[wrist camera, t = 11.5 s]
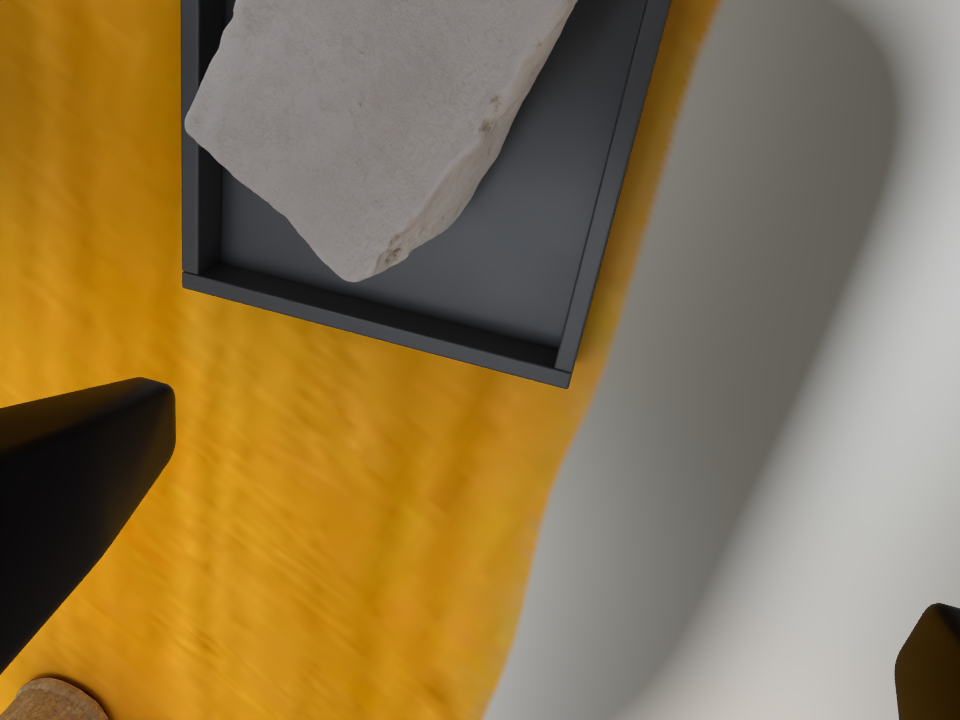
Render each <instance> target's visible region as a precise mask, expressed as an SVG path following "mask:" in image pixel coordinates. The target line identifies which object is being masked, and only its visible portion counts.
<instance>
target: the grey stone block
mask: <svg viewBox="0 0 960 720" xmlns="http://www.w3.org/2000/svg"><path fill="white" fill-rule="evenodd" d="M577 1H578V0H236V2H235V6H234V10H233V12H234V15H233V18H232V20H231V21H230V23H229V24H228V25H227V27H226V28H225V30H224V31H223V34H222V37H221V41H220V46H219V49H218V51H217V53H216V54H215V55H214V57H213V58H212V61H211V63H210V64H209V67H208V69H207V71H206V73H205V76H204V78H203V80H202V82H201V85H200V87H199V90H198V92H197V94H196V97H195V99H194V101H193V103H192V105H191V107H190V110H189V111H188V113H187V115H186V118H185V130H186V132H187V133H188V134H189V135H190V136H191V137H192V138H194V139H195V140H196V142H197V143H198V144H199V145H200V146H201V147H203V148H205V149H206V150H207V151H208V152H209V153H210V154H211V155H212V156H213V157H214V158H215V159H216V160H217V161H218V162H219V163H220V164H221V165H223V166H224V167H225V168H226V169H227V170H228V171H229V172H230V173H231V174H232V176H233V177H235V178H236V179H237V180H239V181H240V182H241V183H242V184H244V185H245V186H246V187H248V188H250V189H251V190H252V191H253V192H254V193H256V194H257V195H259V196H260V197H261V198H262V199H264V200H265V201H267V202H268V203H269V204H270V205H271V206H272V207H273V208H274V209H276V210H277V211H278V212H279V213H281V214H283V215H284V216H285V217H286V218H287V219H288V220H289V221H290V223H291V224H292V225H293V227H294V228H295V229H296V231H297V232H298V233H299V234H300V236H302V237H303V238H304V239H305V240H306V242H307V243H308V244H309V245H310V247H311V248H312V249H313V251H314V252H315V253H316V255H317V256H318V257H319V258H320V259H321V260H322V261H323V262H324V263H325V264H326V265H328V266H329V267H330V268H331V269H332V270H333V271H334V272H335V273H336V274H337V275H338V276H339V277H341V278H342V279H344V280H346V281H349V282H359V281H361V280H364V279H366V278H369V277H372V276H373V275H376V274H379V273H381V272H383V271H385V270H386V269H388V268H389V267H391V266H393V265H396V264H398V263H399V262H401V261H403V260H404V259H406V258H407V257H408V255H409V253H410V252H411V251H412V250H413V249H415V248H417V247H419V246H421V245H422V244H424V243H425V242H426V241H428V240H430V239H433V238H434V237H435V236H437V235H439V234H441V233H442V232H444V231H445V230H446V229H447V228H449V227H450V225H452V224H453V222H454V221H455V220H456V219H457V218H458V217H459V215H460V214H461V212H462V211H463V209H464V208H465V206H466V205H467V204H468V203H469V201H470V200H471V198H472V196H473V195H474V192H475V191H476V188H477V186H478V184H479V182H480V181H481V179H482V178H483V176H484V175H485V174H486V172H487V171H488V169H489V168H490V167H491V165H492V164H493V163H494V161H495V160H496V158H497V157H498V155H499V153H500V151H501V148H502V145H503V143H504V141H505V138H506V136H507V134H508V132H509V130H510V127H511V124H512V122H513V120H514V118H515V116H516V114H517V112H518V110H519V108H520V106H521V104H522V102H523V100H524V98H525V97H526V96H527V94H528V93H529V91H530V89H531V87H532V85H533V83H534V82H535V80H536V77H537V76H538V74H539V72H540V71H541V69H542V67H543V66H544V64H545V62H546V60H547V58H548V56H549V55H550V53H551V51H552V49H553V47H554V45H555V43H556V41H557V39H558V38H559V36H560V34H561V32H562V30H563V27H564V25H565V23H566V21H567V19H568V17H569V15H570V13H571V12H572V10H573V8H574V6H575V4H576V2H577Z"/></svg>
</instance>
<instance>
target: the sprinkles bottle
mask: <svg viewBox="0 0 960 720" xmlns="http://www.w3.org/2000/svg"><path fill="white" fill-rule="evenodd" d="M0 720H108V717H107V716H106V714H105V713H104V711H103V709H102V708H101V707H100V705H99V704H98V703H97V702H96V701H95V700H94V699H92V698H91V697H89V696H88V695H87V694H85V693H84V692H83V691H81V690H80V689H78V688H76V687H74V686H73V685H71V684H69V683H66V682H64V681H61V680H57V679H53V678H39V679H35V680H31V681H30V682H28V683H26V684H25V685H24V686H23V687H22V688H21V689H20V690H19V692H18V693H17V695H16V697H15V700H14V701H13V702H12V703H11V704H10V705H9V706H8V708H7V709H6V710H5V711H4V712H3V713H2V714H1V715H0Z"/></svg>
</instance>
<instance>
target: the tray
mask: <svg viewBox="0 0 960 720" xmlns="http://www.w3.org/2000/svg"><path fill="white" fill-rule="evenodd" d="M671 1H672V0H578V1H577V2H576V4H575V6H574V8H573V10H572V12H571V13H570V15H569V17H568V19H567V21H566V23H565V25H564V27H563V30H562V32H561V34H560V36H559V38H558V39H557V41H556V43H555V45H554V47H553V49H552V51H551V53H550V55H549V56H548V58H547V60H546V62H545V64H544V66H543V67H542V69H541V71H540V72H539V74H538V76H537V77H536V80H535V82H534V83H533V85H532V87H531V89H530V91H529V93H528V94H527V96H526V97H525V98H524V100H523V102H522V104H521V106H520V108H519V110H518V112H517V114H516V116H515V118H514V120H513V122H512V124H511V127H510V130H509V132H508V134H507V136H506V138H505V141H504V143H503V145H502V148H501V151H500V153H499V155H498V157H497V158H496V160H495V161H494V163H493V164H492V165H491V167H490V168H489V169H488V171H487V172H486V174H485V175H484V176H483V178H482V179H481V181H480V182H479V184H478V186H477V188H476V191H475V192H474V195H473V196H472V198H471V200H470V201H469V203H468V204H467V205H466V206H465V208H464V209H463V211H462V212H461V214H460V215H459V217H458V218H457V219H456V220H455V221H454V222H453V224H452V225H450V227H449V228H447V229H446V230H445V231H444V232H442V233H441V234H439V235H437V236H435V237H434V238H433V239H430V240H428V241H426V242H425V243H424V244H422V245H421V246H419V247H417V248H415V249H413V250H412V251H411V252H410V253H409V255H408V257H407V258H406V259H404V260H403V261H401V262H399V263H398V264H396V265H393V266H391V267H389V268H388V269H386V270H385V271H383V272H381V273H379V274H376V275H373V276H372V277H369V278H366V279H364V280H361V281H359V282H349V281H346V280H344V279H342V278H341V277H339V276H338V275H337V274H336V273H335V272H334V271H333V270H332V269H331V268H330V267H329V266H328V265H326V264H325V263H324V262H323V261H322V260H321V259H320V258H319V257H318V256H317V255H316V253H315V252H314V251H313V249H312V248H311V247H310V245H309V244H308V243H307V242H306V240H305V239H304V238H303V237H302V236H300V234H299V233H298V232H297V231H296V229H295V228H294V227H293V225H292V224H291V223H290V221H289V220H288V219H287V218H286V217H285V216H284V215H283V214H281V213H279V212H278V211H277V210H276V209H274V208H273V207H272V206H271V205H270V204H269V203H268V202H267V201H265V200H264V199H262V198H261V197H260V196H259V195H257V194H256V193H254V192H253V191H252V190H251V189H250V188H248V187H246V186H245V185H244V184H242V183H241V182H240V181H239V180H237V179H236V178H235V177H233V176H232V174H231V173H230V172H229V171H228V170H227V169H226V168H225V167H224V166H223V165H221V164H220V163H219V162H218V161H217V160H216V159H215V158H214V157H213V156H212V155H211V154H210V153H209V152H208V151H207V150H206V149H205V148H203V147H201V146H200V145H199V144H198V143H197V142H196V140H195V139H194V138H192V137H191V136H190V135H189V134H188V133H187V132H186V130H185V118H186V115H187V113H188V111H189V110H190V107H191V105H192V103H193V101H194V99H195V97H196V94H197V92H198V90H199V87H200V85H201V82H202V80H203V78H204V76H205V73H206V71H207V69H208V67H209V64H210V63H211V61H212V58H213V57H214V55H215V54H216V53H217V51H218V49H219V46H220V41H221V37H222V34H223V31H224V30H225V28H226V27H227V25H228V24H229V23H230V21H231V20H232V18H233V15H234V12H233V10H234V6H235V2H236V0H181V136H182V270H183V273H182V286H183V288H186V289H190V290H194V291H198V292H201V293H205V294H209V295H213V296H216V297H220V298H224V299H228V300H232V301H235V302H239V303H243V304H247V305H250V306H254V307H258V308H262V309H266V310H269V311H273V312H277V313H281V314H284V315H288V316H292V317H296V318H300V319H303V320H307V321H311V322H315V323H319V324H322V325H326V326H330V327H334V328H337V329H341V330H345V331H349V332H353V333H356V334H360V335H364V336H368V337H371V338H375V339H379V340H383V341H387V342H390V343H394V344H398V345H402V346H405V347H409V348H413V349H417V350H421V351H424V352H428V353H432V354H436V355H439V356H443V357H447V358H451V359H455V360H458V361H462V362H466V363H470V364H473V365H477V366H481V367H485V368H489V369H492V370H496V371H500V372H504V373H507V374H511V375H515V376H519V377H523V378H526V379H530V380H534V381H538V382H541V383H545V384H549V385H553V386H557V387H560V388H564V389H568V387H569V384H570V380H571V376H572V372H573V369H574V365H575V361H576V358H577V354H578V350H579V346H580V343H581V339H582V335H583V331H584V328H585V324H586V320H587V316H588V312H589V309H590V305H591V301H592V297H593V294H594V290H595V286H596V282H597V279H598V275H599V271H600V267H601V264H602V260H603V256H604V252H605V249H606V245H607V241H608V237H609V234H610V230H611V226H612V222H613V219H614V215H615V211H616V207H617V204H618V200H619V196H620V192H621V188H622V185H623V181H624V177H625V173H626V170H627V166H628V162H629V158H630V155H631V151H632V147H633V143H634V140H635V136H636V132H637V128H638V125H639V121H640V117H641V113H642V110H643V106H644V102H645V98H646V95H647V91H648V87H649V83H650V80H651V76H652V72H653V68H654V64H655V61H656V57H657V53H658V49H659V46H660V42H661V38H662V34H663V31H664V27H665V23H666V19H667V16H668V12H669V8H670V4H671Z"/></svg>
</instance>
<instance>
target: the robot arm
mask: <svg viewBox="0 0 960 720" xmlns="http://www.w3.org/2000/svg"><path fill="white" fill-rule="evenodd" d="M175 443H176V416H175V393H174V391H173V389H172V388H171V387H170V386H169V385H168V384H164V383H161V382H157V381H154V380H150V379H147V378H143V377H137V378H132V379H127V380H123V381H119V382H114V383H110V384H105V385H101V386H97V387H92V388H88V389H83V390H79V391H75V392H70V393H66V394H61V395H57V396H52V397H48V398H44V399H39V400H35V401H30V402H26V403H22V404H17V405H13V406H8V407H4V408H0V675H1V673H2V672H3V671H4V670H5V669H6V668H7V666H8V665H9V664H10V663H11V662H12V661H13V660H14V658H15V657H16V656H17V655H18V654H19V653H20V651H21V650H22V649H23V648H24V647H25V646H26V645H27V643H28V642H29V641H30V640H31V639H32V638H33V636H34V635H35V634H36V633H37V632H38V631H39V629H40V628H41V627H42V626H43V625H44V624H45V623H46V621H47V620H48V619H49V618H50V617H51V616H52V614H53V613H54V612H55V611H56V610H57V609H58V608H59V606H60V605H61V604H62V603H63V602H64V601H65V599H66V598H67V597H68V596H69V595H70V594H71V593H72V591H73V590H74V589H75V588H76V587H77V586H78V584H79V583H80V582H81V581H82V580H83V579H84V577H85V576H86V575H87V574H88V573H89V572H90V570H91V569H92V568H93V567H94V566H95V564H96V563H97V562H98V561H99V560H100V558H101V557H102V556H103V555H104V553H105V552H106V550H107V549H108V548H109V546H110V545H111V544H112V542H113V541H114V540H115V538H116V537H117V535H118V534H119V532H120V531H121V530H122V528H123V527H124V525H125V524H126V522H127V521H128V519H129V518H130V517H131V515H132V514H133V512H134V511H135V509H136V508H137V507H138V505H139V504H140V502H141V501H142V499H143V498H144V496H145V495H146V494H147V492H148V491H149V489H150V488H151V486H152V485H153V484H154V482H155V481H156V479H157V478H158V476H159V475H160V473H161V472H162V471H163V469H164V468H165V466H166V465H167V463H168V462H169V460H170V458H171V456H172V454H173V451H174V448H175ZM895 685H896V694H897V703H898V713H899V720H960V608H956V607H952V606H948V605H945V604H941V603H936V604H932V605H931V606H929V607H928V608H927V609H926V610H925V612H924V613H923V614H922V616H921V618H920V619H919V621H918V623H917V624H916V626H915V627H914V629H913V631H912V632H911V634H910V636H909V637H908V639H907V640H906V642H905V644H904V645H903V647H902V649H901V650H900V652H899V655H898V657H897V660H896V664H895Z"/></svg>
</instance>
